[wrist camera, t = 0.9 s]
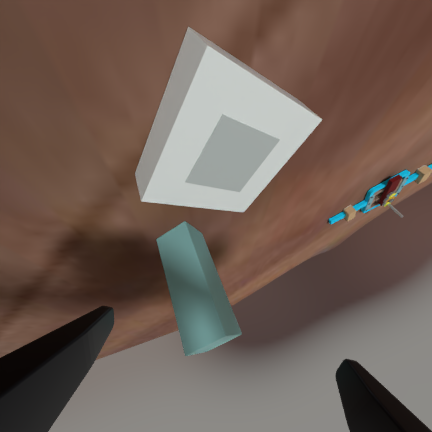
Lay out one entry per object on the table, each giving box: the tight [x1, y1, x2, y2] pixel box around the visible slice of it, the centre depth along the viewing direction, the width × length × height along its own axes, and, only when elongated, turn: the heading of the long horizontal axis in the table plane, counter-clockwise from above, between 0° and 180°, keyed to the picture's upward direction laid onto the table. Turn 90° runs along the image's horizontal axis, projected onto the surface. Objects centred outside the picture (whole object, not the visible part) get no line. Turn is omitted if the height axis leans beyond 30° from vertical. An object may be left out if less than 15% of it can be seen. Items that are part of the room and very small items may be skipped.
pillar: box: [156, 222, 242, 356], centre depth 23 cm, size 4×4×12 cm
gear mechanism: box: [329, 164, 432, 224], centre depth 36 cm, size 20×5×9 cm
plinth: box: [135, 27, 322, 212], centre depth 16 cm, size 10×10×3 cm
